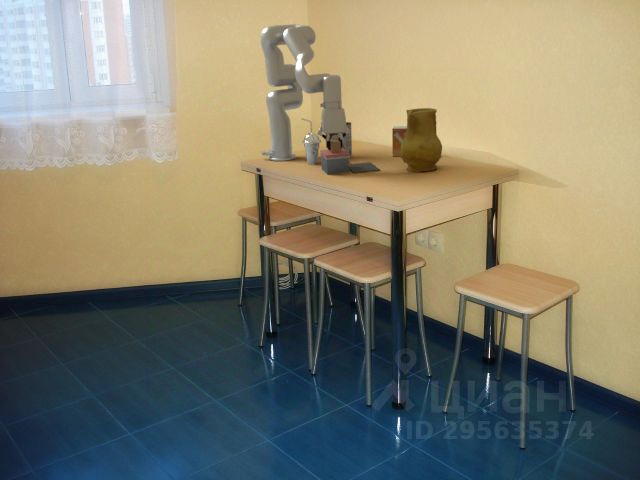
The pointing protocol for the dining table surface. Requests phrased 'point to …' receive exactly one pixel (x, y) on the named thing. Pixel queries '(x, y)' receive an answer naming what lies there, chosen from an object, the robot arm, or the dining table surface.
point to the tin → (335, 165)
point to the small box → (398, 139)
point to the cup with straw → (311, 146)
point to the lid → (335, 150)
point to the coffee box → (344, 139)
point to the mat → (363, 167)
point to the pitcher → (421, 140)
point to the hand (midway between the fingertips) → (334, 148)
